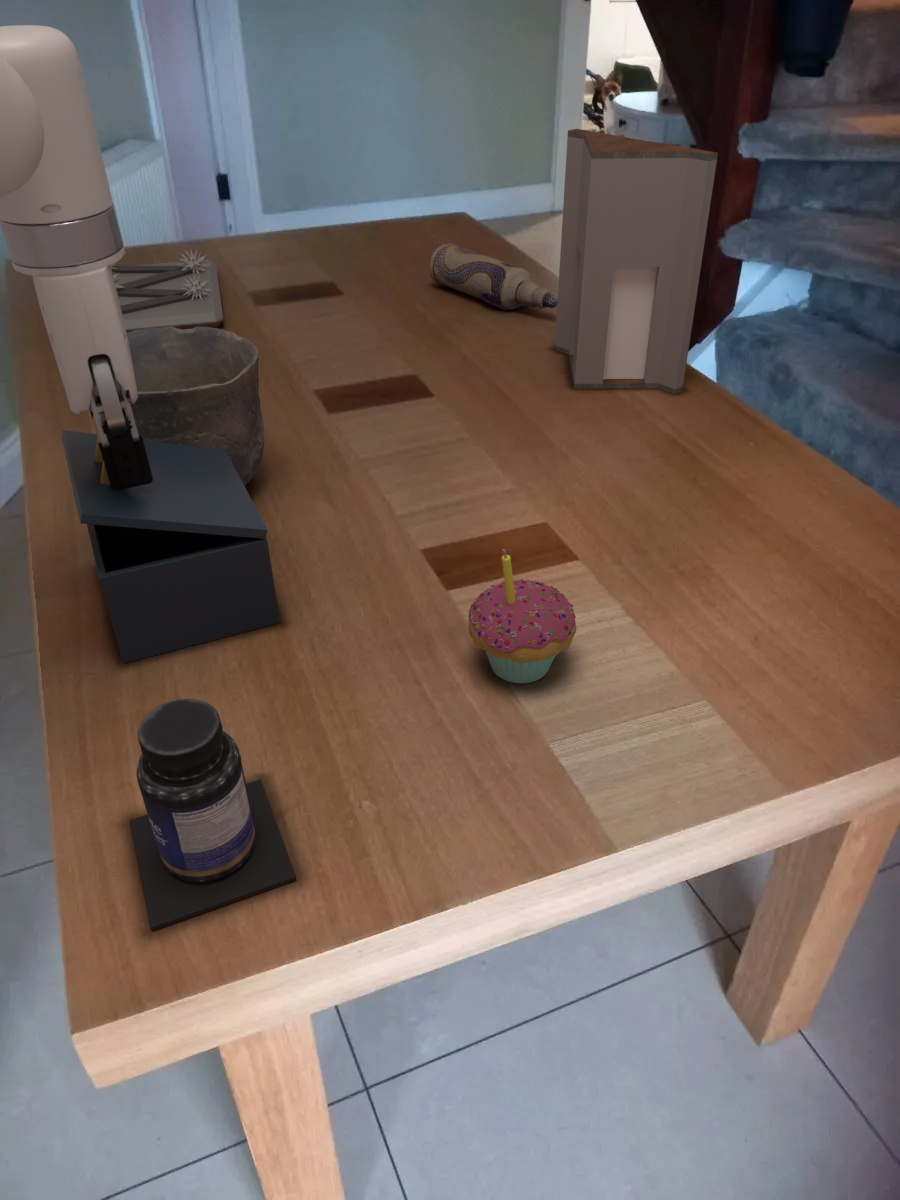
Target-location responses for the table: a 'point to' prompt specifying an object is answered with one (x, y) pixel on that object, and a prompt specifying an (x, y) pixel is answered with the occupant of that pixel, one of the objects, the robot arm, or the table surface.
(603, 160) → the cabinet
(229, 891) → the mat
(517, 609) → the cupcake
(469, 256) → the decorative bottle
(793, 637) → the table surface
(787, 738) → the table surface
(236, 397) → the bowl
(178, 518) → the lid
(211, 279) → the gray box with spikes
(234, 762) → the pill bottle
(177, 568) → the chest
